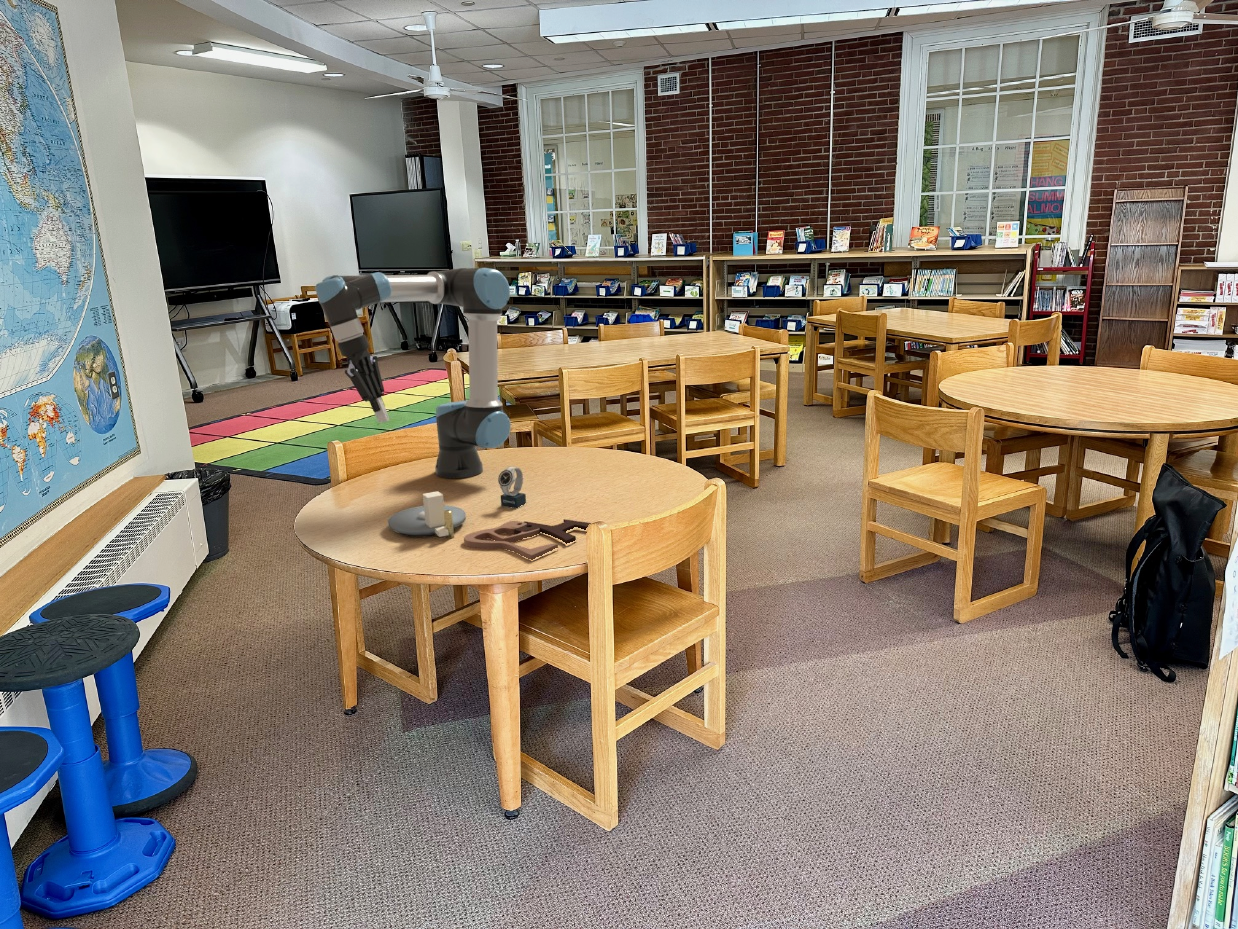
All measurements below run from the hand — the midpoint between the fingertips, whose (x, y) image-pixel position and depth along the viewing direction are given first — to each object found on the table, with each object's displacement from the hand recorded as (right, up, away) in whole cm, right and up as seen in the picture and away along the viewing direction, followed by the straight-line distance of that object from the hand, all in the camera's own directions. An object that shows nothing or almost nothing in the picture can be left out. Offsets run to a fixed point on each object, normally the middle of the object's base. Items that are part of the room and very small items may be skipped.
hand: (384, 421), depth 226 cm
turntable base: (+13, -28, -4) cm, 31 cm away
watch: (+33, -23, +12) cm, 42 cm away
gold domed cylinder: (+20, -30, -12) cm, 38 cm away
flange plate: (+13, -27, -5) cm, 31 cm away
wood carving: (+41, -31, -13) cm, 53 cm away
